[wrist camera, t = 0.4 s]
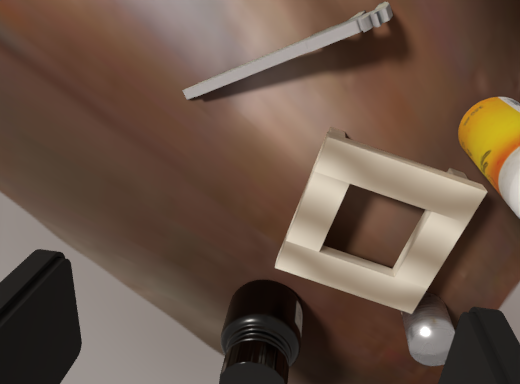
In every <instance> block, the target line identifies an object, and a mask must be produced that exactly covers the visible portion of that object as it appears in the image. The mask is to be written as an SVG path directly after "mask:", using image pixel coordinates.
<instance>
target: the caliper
mask: <svg viewBox="0 0 520 384" xmlns="http://www.w3.org/2000/svg"><path fill="white" fill-rule="evenodd" d="M392 16H393V14H392V10H391V7H390V4H389V3H387V2H383V3H380V4H379V5H378V6H377V7H376V8H375V10H374V11H371V12H369V13H366V12H365V10H364V11H362V12H360V13H358V14H357V15H355V16H353V17H352V18H350V19H349V20H347V21H346V22H343V23H341V24H338V25H335V26H333V27H330V28H327V29H325V30H323V31H321V32H318V33H315V34H313V35H311V36H310V37H308V38H306V39H303V40H301V41H299V42H296V43H294V44H291V45H289V46H287V47H284V48H282V49H279V50H277V51H275V52H272V53H270V54H267V55H265V56H262V57H260V58H258V59H255V60H253V61H250V62H248V63H246V64H243V65H241V66H238V67H236V68H234V69H231V70H229V71H226V72H224V73H221V74H219V75H217V76H214V77H212V78H209V79H207V80H205V81H203V82H200V83H198V84H196V85H194V86H192V87H189V88H187V89H184V90H183V93H184V95H185V97H186V99H190V98H193V97H197V96H200V95H202V94H205V93H207V92H210V91H212V90H215V89H217V88H220V87H222V86H225V85H227V84H230V83H232V82H235V81H237V80H240V79H242V78H245V77H247V76H250V75H252V74H255V73H257V72H260V71H262V70H265V69H267V68H270V67H272V66H275V65H277V64H280V63H282V62H285V61H287V60H290V59H292V58H295V57H297V56H300V55H302V54H305V53H307V52H312V51H314V50H317V49H319V48H322V47H324V46H327V45H329V44H332V43H334V42H337V41H339V40H342V39H344V38H347V37H349V36H352V35H354V34H357V33H359V32H361V31H362V30H363V32H366V31H368V30H370V29H371V28H372V27H373V26H375V27H379V26H381V24H382V23H384V22H387V21H389V20H390V19H391V18H392Z"/></svg>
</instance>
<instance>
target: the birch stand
mask: <svg viewBox="0 0 520 384" xmlns="http://www.w3.org/2000/svg"><path fill="white" fill-rule="evenodd" d="M349 184H353V185H356V186H359V187H361V188H364V189H367V190H370V191H373V192H376V193H379V194H382V195H385V196H388V197H391V198H394V199H397V200H400V201H402V202H405V203H408V204H411V205H414V206H417V207H420V208H423V209H426V210H425V211H424V213H423V215H422V217H421V219H420V220H419V222H418V224H417V226H416V228H415V229H414V231H413V233H412V235H411V237H410V238H409V240H408V242H407V244H406V246H405V247H404V249H403V251H402V253H401V255H400V256H399V258H398V260H397V262H396V264H395V265H394V267H393V269H392V268H389V267H386V266H383V265H380V264H377V263H374V262H371V261H368V260H365V259H362V258H359V257H356V256H353V255H350V254H347V253H344V252H341V251H338V250H335V249H332V248H330V247H327V246H324V245H322V244H323V242H324V240H325V238H326V235H327V233H328V231H329V229H330V227H331V224H332V222H333V220H334V218H335V215H336V213H337V211H338V209H339V207H340V204H341V202H342V200H343V198H344V195H345V193H346V191H347V189H348V187H349ZM486 193H487V190H486V189H485V188H484V186H483V185H482V184H479V183H476V182H473V181H470V180H469V179H468V178H467V177H466V175H465V174H464V173H463V172H460V171H457V170H454V169H451V168H449V170H448V172H444V171H441V170H438V169H435V168H432V167H429V166H426V165H423V164H421V163H418V162H415V161H412V160H409V159H406V158H403V157H400V156H397V155H394V154H391V153H388V152H386V151H383V150H380V149H377V148H374V147H371V146H368V145H365V144H362V143H359V142H356V141H354V140H351V139H348V138H345V132H344V131H341V130H338V129H335V128H332V127H330V129H329V132H327V134H326V137H325V139H324V142H323V144H322V147H321V149H320V152H319V154H318V157H317V159H316V162H315V164H314V167H313V169H312V172H311V174H310V177H309V179H308V182H307V184H306V187H305V189H304V192H303V194H302V197H301V199H300V202H299V204H298V207H297V209H296V212H295V214H294V217H293V219H292V222H291V224H290V227H289V229H288V232H287V234H286V237H285V239H284V242H283V244H282V247H281V249H280V252H279V254H278V257H277V259H276V264H275V268H277V269H280V270H283V271H286V272H289V273H292V274H295V275H298V276H301V277H304V278H307V279H310V280H313V281H316V282H318V283H321V284H324V285H327V286H330V287H333V288H336V289H339V290H342V291H345V292H348V293H351V294H354V295H357V296H360V297H363V298H366V299H369V300H372V301H375V302H378V303H381V304H384V305H387V306H390V307H393V308H396V309H399V310H402V311H404V312H407V313H410V314H412V313H413V311H414V310H415V308H416V307H417V305H418V303H419V302H420V300H421V298H422V297H423V295H424V294H425V292H426V290H427V289H428V287H429V286H430V284H431V282H432V281H433V279H434V277H435V276H436V274H437V273H438V271H439V269H440V268H441V266H442V264H443V263H444V261H445V260H446V258H447V256H448V255H449V253H450V252H451V250H452V248H453V247H454V245H455V243H456V242H457V240H458V239H459V237H460V235H461V234H462V232H463V230H464V229H465V227H466V226H467V224H468V222H469V221H470V219H471V218H472V216H473V214H474V213H475V211H476V209H477V208H478V206H479V205H480V203H481V201H482V200H483V198H484V197H485V195H486Z"/></svg>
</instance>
